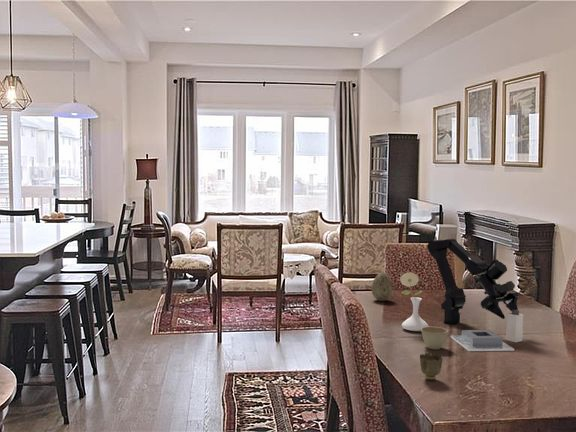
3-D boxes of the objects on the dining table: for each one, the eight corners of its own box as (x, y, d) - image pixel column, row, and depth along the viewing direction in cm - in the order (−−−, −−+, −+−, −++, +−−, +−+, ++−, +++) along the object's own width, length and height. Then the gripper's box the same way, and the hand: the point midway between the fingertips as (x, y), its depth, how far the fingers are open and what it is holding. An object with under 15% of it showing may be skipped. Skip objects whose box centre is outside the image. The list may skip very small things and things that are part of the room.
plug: (506, 339, 259) (507, 309, 258) (513, 338, 262) (514, 308, 261) (515, 342, 256) (516, 312, 255) (522, 341, 258) (523, 310, 257)
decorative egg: (393, 303, 325) (394, 274, 323) (372, 302, 325) (373, 274, 324) (390, 298, 335) (391, 270, 334) (370, 298, 335) (370, 270, 334)
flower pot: (448, 345, 249) (448, 327, 249) (445, 352, 240) (446, 334, 239) (422, 343, 252) (423, 325, 252) (419, 349, 243) (419, 331, 242)
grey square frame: (450, 337, 262) (451, 327, 262) (492, 336, 264) (493, 327, 263) (468, 351, 242) (469, 341, 242) (514, 350, 244) (514, 340, 243)
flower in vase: (431, 328, 275) (433, 271, 273) (425, 334, 265) (427, 275, 263) (401, 324, 281) (403, 269, 279) (394, 330, 270) (396, 273, 268)
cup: (416, 375, 213) (417, 352, 212) (437, 375, 213) (438, 352, 213) (422, 383, 205) (423, 359, 205) (444, 383, 206) (445, 359, 205)
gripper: (487, 276, 258) (509, 308, 249) (516, 273, 268) (538, 303, 259) (471, 292, 265) (491, 324, 256) (500, 288, 275) (521, 318, 267)
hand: (511, 317), depth 259 cm, fingers open, 9 cm apart
